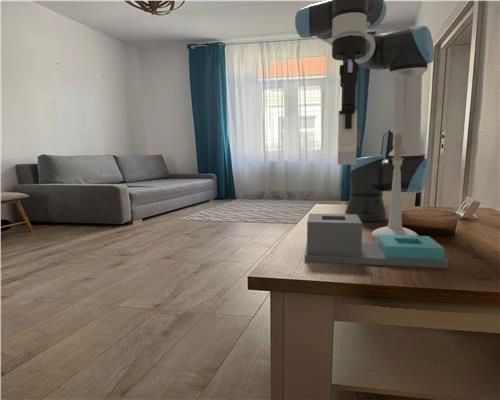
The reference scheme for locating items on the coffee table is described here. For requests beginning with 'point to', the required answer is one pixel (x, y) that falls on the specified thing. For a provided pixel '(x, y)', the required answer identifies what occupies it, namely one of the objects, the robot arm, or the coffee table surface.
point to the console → (366, 245)
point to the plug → (347, 144)
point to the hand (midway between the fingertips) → (347, 144)
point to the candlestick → (395, 198)
